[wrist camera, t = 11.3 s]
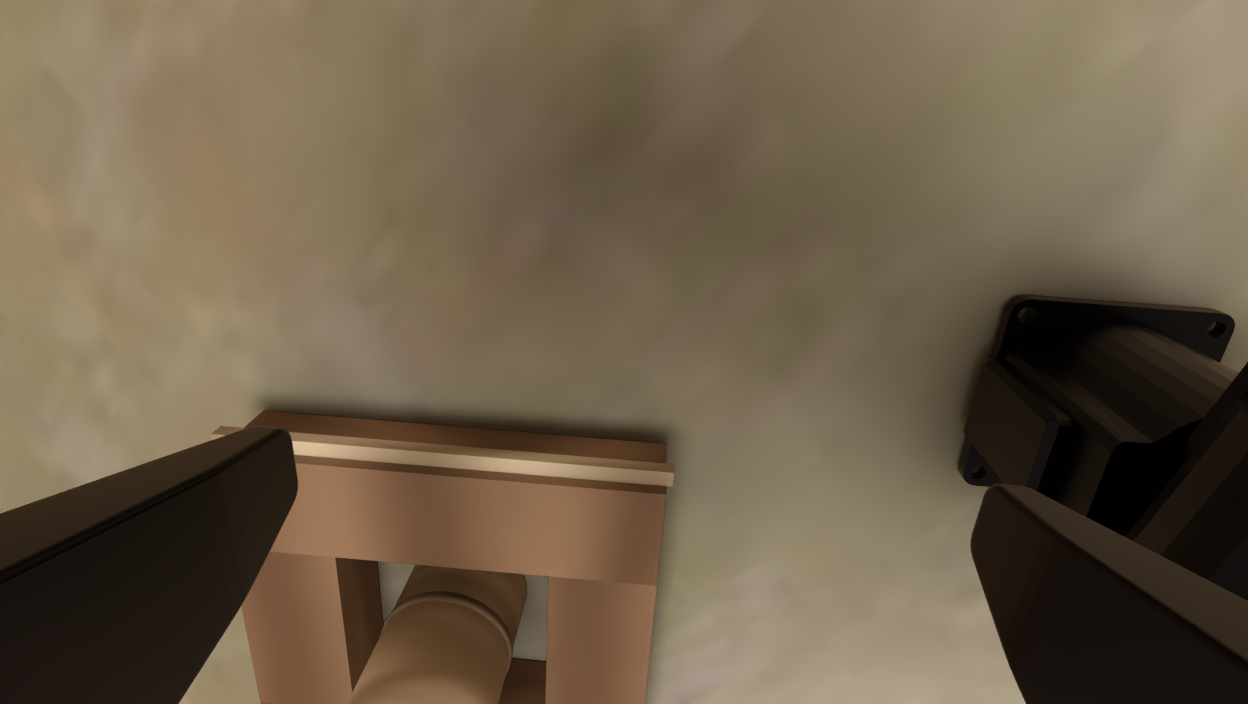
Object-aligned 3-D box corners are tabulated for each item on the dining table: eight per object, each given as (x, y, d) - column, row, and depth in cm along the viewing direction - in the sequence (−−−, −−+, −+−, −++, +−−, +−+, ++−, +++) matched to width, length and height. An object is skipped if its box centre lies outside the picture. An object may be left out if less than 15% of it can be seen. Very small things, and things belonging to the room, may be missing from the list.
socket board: (673, 431, 23) (674, 481, 21) (641, 740, 29) (638, 811, 26) (255, 397, 24) (202, 441, 21) (307, 709, 30) (270, 775, 27)
